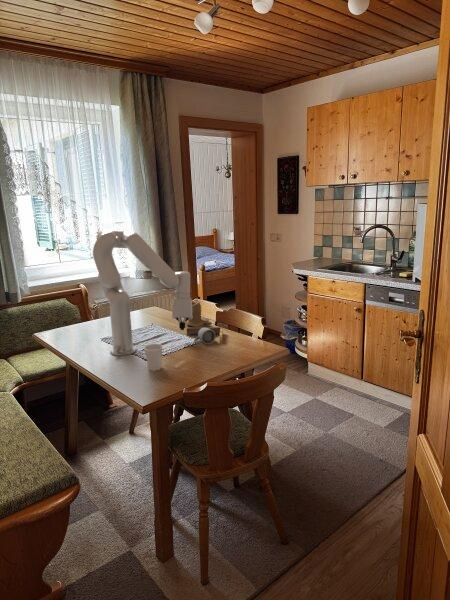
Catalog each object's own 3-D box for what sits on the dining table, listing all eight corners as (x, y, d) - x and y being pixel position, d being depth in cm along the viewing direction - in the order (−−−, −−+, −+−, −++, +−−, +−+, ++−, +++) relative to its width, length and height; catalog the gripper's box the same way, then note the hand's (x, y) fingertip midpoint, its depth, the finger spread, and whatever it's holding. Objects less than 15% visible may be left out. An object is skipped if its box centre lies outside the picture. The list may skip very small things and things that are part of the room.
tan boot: (180, 326, 246) (179, 301, 242) (195, 322, 254) (194, 298, 250) (197, 331, 235) (196, 305, 232) (212, 326, 243) (211, 301, 240)
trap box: (221, 343, 213) (221, 336, 212) (183, 344, 213) (183, 337, 212) (222, 334, 229) (222, 327, 228) (187, 334, 229) (186, 327, 228)
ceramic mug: (210, 338, 222) (209, 324, 220) (216, 343, 214) (215, 328, 213) (191, 341, 218) (190, 328, 216) (196, 346, 210) (196, 332, 209)
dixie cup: (167, 368, 183) (166, 346, 181) (151, 373, 178) (150, 351, 175) (157, 363, 189) (156, 342, 187) (141, 367, 184) (140, 346, 181)
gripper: (167, 296, 209) (167, 331, 212) (196, 297, 208) (195, 332, 212) (169, 293, 216) (169, 327, 220) (197, 294, 216) (197, 328, 219)
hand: (182, 329), depth 216 cm, fingers closed
